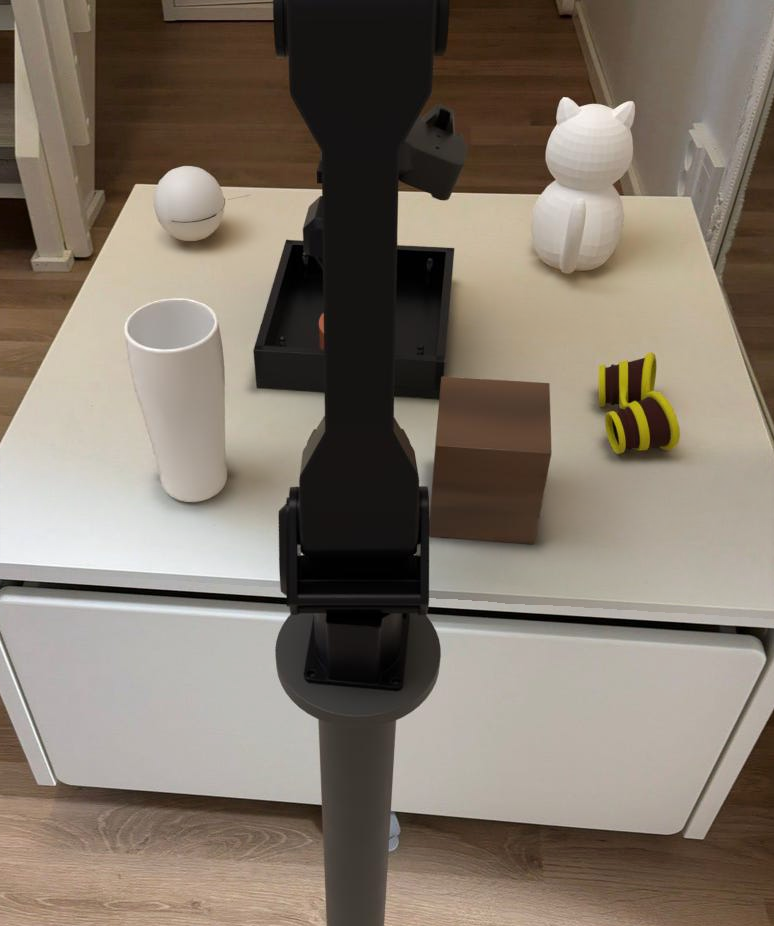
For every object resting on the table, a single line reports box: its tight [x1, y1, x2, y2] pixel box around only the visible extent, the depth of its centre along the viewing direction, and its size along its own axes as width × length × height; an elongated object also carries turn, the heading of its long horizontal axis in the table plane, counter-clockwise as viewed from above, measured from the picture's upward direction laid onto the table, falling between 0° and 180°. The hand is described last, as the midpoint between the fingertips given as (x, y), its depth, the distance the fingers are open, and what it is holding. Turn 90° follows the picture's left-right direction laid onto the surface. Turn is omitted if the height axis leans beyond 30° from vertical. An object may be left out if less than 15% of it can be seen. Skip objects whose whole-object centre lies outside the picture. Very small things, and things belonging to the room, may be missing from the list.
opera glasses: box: [598, 352, 681, 455], centre depth 85 cm, size 10×5×5 cm, turn 179°
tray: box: [252, 239, 455, 400], centre depth 94 cm, size 18×16×4 cm
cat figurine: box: [530, 96, 636, 274], centre depth 98 cm, size 9×12×15 cm
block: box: [429, 376, 553, 545], centre depth 77 cm, size 8×8×9 cm
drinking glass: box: [123, 297, 228, 503], centre depth 77 cm, size 7×7×15 cm
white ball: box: [153, 165, 251, 242], centre depth 106 cm, size 10×7×7 cm
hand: (356, 277), depth 88 cm, fingers open, 9 cm apart
